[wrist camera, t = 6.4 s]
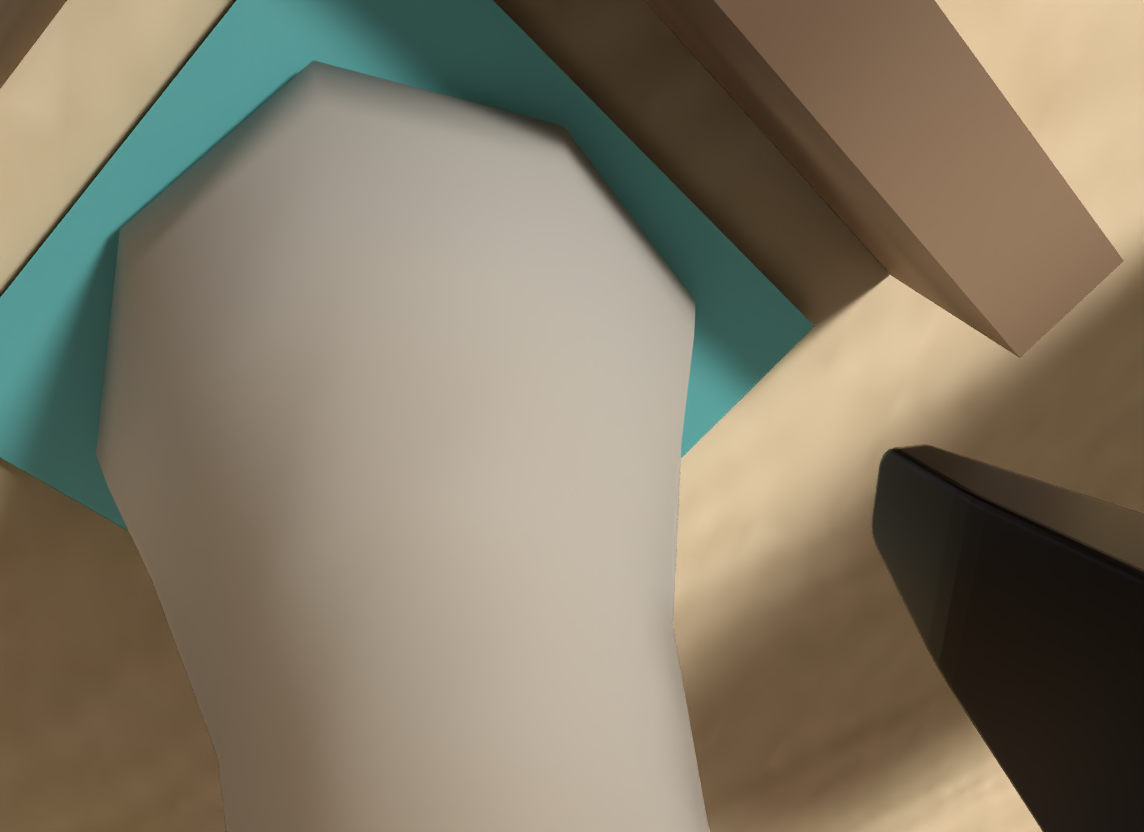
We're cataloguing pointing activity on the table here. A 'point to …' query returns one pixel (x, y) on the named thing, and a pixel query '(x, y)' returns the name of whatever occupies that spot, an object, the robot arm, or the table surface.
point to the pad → (237, 89)
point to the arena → (878, 147)
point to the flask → (410, 468)
